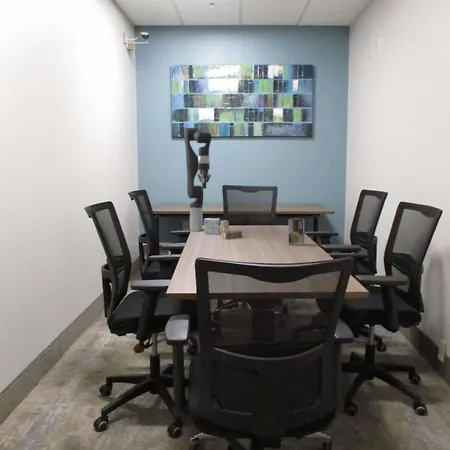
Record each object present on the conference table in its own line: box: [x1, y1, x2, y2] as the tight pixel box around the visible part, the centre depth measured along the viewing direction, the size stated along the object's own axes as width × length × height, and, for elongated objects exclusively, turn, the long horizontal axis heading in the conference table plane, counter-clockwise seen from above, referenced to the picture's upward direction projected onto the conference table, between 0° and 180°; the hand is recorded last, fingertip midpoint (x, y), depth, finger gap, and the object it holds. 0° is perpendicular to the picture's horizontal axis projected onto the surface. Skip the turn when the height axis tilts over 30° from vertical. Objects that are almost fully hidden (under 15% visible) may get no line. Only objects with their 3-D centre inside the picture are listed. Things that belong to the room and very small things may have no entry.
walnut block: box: [221, 230, 243, 240], centre depth 307 cm, size 4×4×14 cm
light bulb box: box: [203, 217, 221, 235], centre depth 325 cm, size 11×7×11 cm, turn 84°
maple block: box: [220, 219, 230, 236], centre depth 318 cm, size 4×4×10 cm
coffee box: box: [287, 217, 306, 246], centre depth 281 cm, size 9×6×16 cm
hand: (204, 188), depth 309 cm, fingers closed
